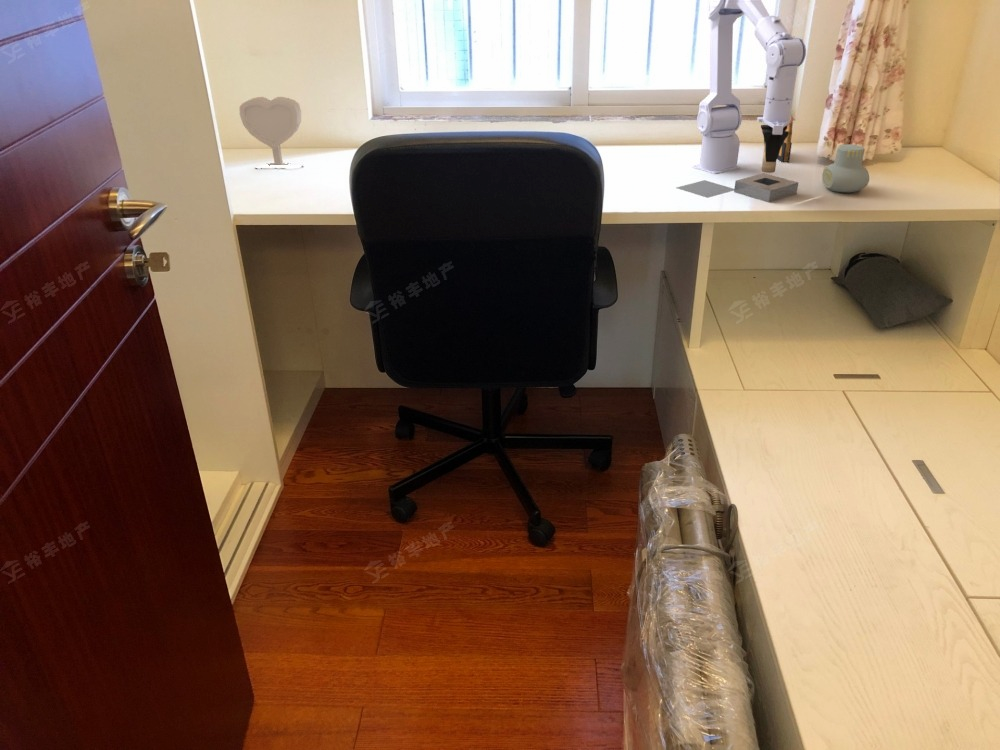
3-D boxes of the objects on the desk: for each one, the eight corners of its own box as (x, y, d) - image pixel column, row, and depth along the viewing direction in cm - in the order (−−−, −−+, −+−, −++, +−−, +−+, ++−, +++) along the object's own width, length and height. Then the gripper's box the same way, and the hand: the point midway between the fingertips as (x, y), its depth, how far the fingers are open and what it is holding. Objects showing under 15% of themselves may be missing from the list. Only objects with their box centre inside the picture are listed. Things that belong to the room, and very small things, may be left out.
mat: (704, 181, 196) (704, 180, 196) (736, 190, 189) (736, 189, 189) (675, 188, 191) (675, 187, 191) (707, 198, 184) (707, 197, 184)
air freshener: (869, 196, 183) (878, 152, 178) (833, 197, 183) (841, 153, 178) (851, 182, 192) (860, 141, 187) (817, 183, 193) (825, 141, 188)
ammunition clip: (767, 152, 218) (774, 107, 212) (774, 152, 218) (780, 107, 212) (782, 162, 209) (789, 116, 203) (789, 162, 209) (796, 115, 203)
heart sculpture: (248, 169, 215) (235, 100, 206) (254, 164, 219) (243, 96, 210) (304, 169, 214) (294, 99, 205) (309, 164, 218) (300, 96, 209)
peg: (766, 168, 185) (770, 129, 181) (777, 170, 183) (782, 130, 179) (758, 171, 183) (763, 131, 179) (770, 173, 181) (775, 133, 177)
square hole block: (761, 185, 192) (763, 173, 190) (796, 195, 185) (798, 182, 183) (733, 193, 187) (735, 180, 186) (768, 203, 180) (770, 190, 178)
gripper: (758, 91, 182) (750, 151, 189) (762, 104, 170) (753, 167, 177) (790, 92, 181) (781, 152, 187) (796, 104, 168) (786, 168, 175)
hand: (770, 159), depth 182 cm, fingers closed on peg, 3 cm apart
